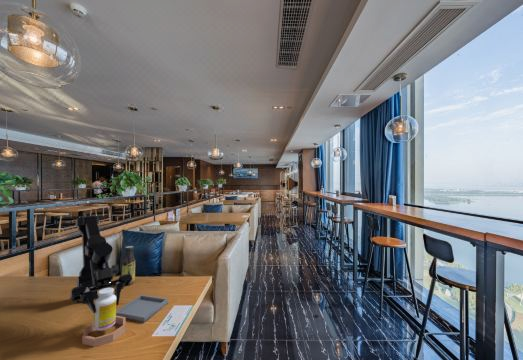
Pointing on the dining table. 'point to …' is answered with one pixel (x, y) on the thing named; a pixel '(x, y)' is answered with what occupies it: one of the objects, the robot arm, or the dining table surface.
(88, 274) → the robot arm
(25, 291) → the dining table surface
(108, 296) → the supplement bottle
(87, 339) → the holder ring
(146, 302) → the tray
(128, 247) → the sauce bottle
